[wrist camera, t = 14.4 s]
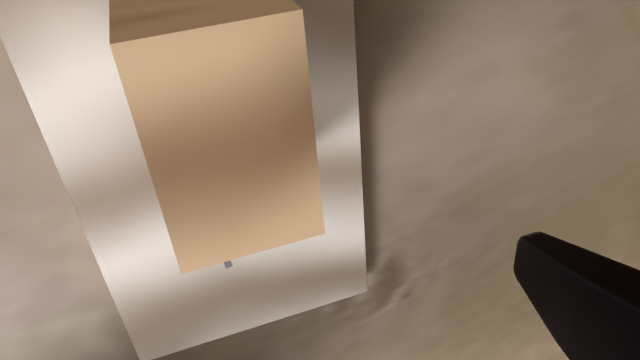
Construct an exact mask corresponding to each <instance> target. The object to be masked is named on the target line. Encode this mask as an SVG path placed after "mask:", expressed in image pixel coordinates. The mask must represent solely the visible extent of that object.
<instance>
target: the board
mask: <svg viewBox="0 0 640 360" xmlns="http://www.w3.org/2000/svg"><path fill="white" fill-rule="evenodd" d="M292 1H293V2H295V3H296V4H297V5H298V6H299V7H300V8H302V9H303V18H304V28H305V38H306V48H307V58H308V68H309V78H310V88H311V98H312V108H313V118H314V129H315V139H316V149H317V159H318V169H319V179H320V189H321V199H322V209H323V219H324V229H325V234H322V235H318V236H315V237H311V238H307V239H304V240H300V241H297V242H293V243H290V244H286V245H283V246H279V247H276V248H272V249H269V250H265V251H262V252H258V253H254V254H251V255H247V256H244V257H240V258H237V259H233V260H230V261H226V262H223V263H219V264H216V265H212V266H209V267H205V268H201V269H198V270H194V271H191V272H187V273H184V274H181V272H180V268H179V265H178V262H177V259H176V256H175V252H174V249H173V246H172V243H171V240H170V236H169V233H168V230H167V227H166V224H165V220H164V217H163V214H162V211H161V207H160V204H159V201H158V198H157V195H156V191H155V188H154V185H153V182H152V179H151V175H150V172H149V169H148V166H147V163H146V159H145V156H144V153H143V150H142V147H141V143H140V140H139V137H138V134H137V131H136V127H135V124H134V121H133V118H132V115H131V111H130V108H129V105H128V102H127V99H126V95H125V92H124V89H123V86H122V82H121V79H120V76H119V73H118V70H117V66H116V63H115V60H114V57H113V54H112V50H111V47H110V38H109V0H0V37H1V39H2V41H3V44H4V46H5V48H6V51H7V53H8V55H9V57H10V60H11V62H12V64H13V67H14V69H15V71H16V74H17V76H18V78H19V81H20V83H21V85H22V88H23V90H24V92H25V95H26V97H27V99H28V102H29V104H30V106H31V109H32V111H33V113H34V116H35V118H36V120H37V123H38V125H39V127H40V130H41V132H42V134H43V137H44V139H45V141H46V144H47V146H48V148H49V151H50V153H51V155H52V158H53V160H54V162H55V165H56V167H57V169H58V172H59V174H60V176H61V179H62V181H63V183H64V185H65V188H66V190H67V192H68V195H69V197H70V199H71V202H72V204H73V206H74V209H75V211H76V213H77V216H78V218H79V220H80V223H81V225H82V227H83V230H84V232H85V234H86V237H87V239H88V241H89V244H90V246H91V248H92V251H93V253H94V255H95V258H96V260H97V262H98V265H99V267H100V269H101V272H102V274H103V276H104V279H105V281H106V283H107V286H108V288H109V290H110V293H111V295H112V297H113V300H114V302H115V304H116V307H117V309H118V311H119V313H120V316H121V318H122V320H123V323H124V325H125V327H126V330H127V332H128V334H129V337H130V339H131V341H132V344H133V346H134V348H135V351H136V353H137V355H138V358H139V360H153V359H156V358H159V357H162V356H165V355H169V354H172V353H175V352H178V351H181V350H184V349H188V348H191V347H194V346H197V345H200V344H203V343H206V342H210V341H213V340H216V339H219V338H222V337H225V336H229V335H232V334H235V333H238V332H241V331H244V330H247V329H251V328H254V327H257V326H260V325H263V324H266V323H270V322H273V321H276V320H279V319H282V318H285V317H288V316H292V315H295V314H298V313H301V312H304V311H307V310H311V309H314V308H317V307H320V306H323V305H326V304H330V303H333V302H336V301H339V300H342V299H345V298H348V297H352V296H355V295H358V294H361V293H364V292H367V271H366V250H365V229H364V208H363V187H362V166H361V145H360V124H359V103H358V82H357V61H356V40H355V19H354V0H292Z"/></svg>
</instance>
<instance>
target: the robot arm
mask: <svg viewBox="0 0 640 360" xmlns="http://www.w3.org/2000/svg"><path fill="white" fill-rule="evenodd" d="M514 273H515V276H516V278H517V280H518V282H519V283H520V285H521V287H522V288H523V290H524V291H525V293H526V295H527V296H528V298H529V300H530V301H531V303H532V304H533V306H534V308H535V309H536V311H537V312H538V314H539V316H540V317H541V319H542V320H543V322H544V324H545V325H546V327H547V328H548V330H549V332H550V333H551V335H552V336H553V338H554V339H555V341H556V342H557V344H558V345H559V346H560V348H561V349H562V350H563V352H564V353H565V354H566V356H567V357H568V358H569V360H640V270H637V269H635V268H632V267H630V266H627V265H625V264H622V263H620V262H617V261H614V260H612V259H609V258H607V257H604V256H602V255H599V254H597V253H594V252H591V251H589V250H586V249H584V248H581V247H579V246H576V245H574V244H571V243H568V242H566V241H563V240H561V239H558V238H556V237H553V236H551V235H548V234H545V233H543V232H533V233H530V234H527V235H524V236H522V237H520V238H519V240H518V242H517V248H516V254H515V260H514Z"/></svg>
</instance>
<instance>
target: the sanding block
mask: <svg viewBox="0 0 640 360" xmlns="http://www.w3.org/2000/svg"><path fill="white" fill-rule="evenodd" d="M109 38H110V47H111V50H112V54H113V57H114V60H115V63H116V66H117V70H118V73H119V76H120V79H121V82H122V86H123V89H124V92H125V95H126V99H127V102H128V105H129V108H130V111H131V115H132V118H133V121H134V124H135V127H136V131H137V134H138V137H139V140H140V143H141V147H142V150H143V153H144V156H145V159H146V163H147V166H148V169H149V172H150V175H151V179H152V182H153V185H154V188H155V191H156V195H157V198H158V201H159V204H160V207H161V211H162V214H163V217H164V220H165V224H166V227H167V230H168V233H169V236H170V240H171V243H172V246H173V249H174V252H175V256H176V259H177V262H178V265H179V268H180V272H181V274H184V273H187V272H191V271H194V270H198V269H201V268H205V267H209V266H212V265H216V264H219V263H223V262H226V261H230V260H233V259H237V258H240V257H244V256H247V255H251V254H254V253H258V252H262V251H265V250H269V249H272V248H276V247H279V246H283V245H286V244H290V243H293V242H297V241H300V240H304V239H307V238H311V237H315V236H318V235H322V234H325V229H324V219H323V209H322V199H321V189H320V179H319V169H318V159H317V149H316V139H315V129H314V118H313V108H312V98H311V88H310V78H309V68H308V58H307V48H306V38H305V28H304V18H303V9H302V8H300V7H299V6H298V5H297V4H296V3H295V2H293V1H292V0H109Z"/></svg>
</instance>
